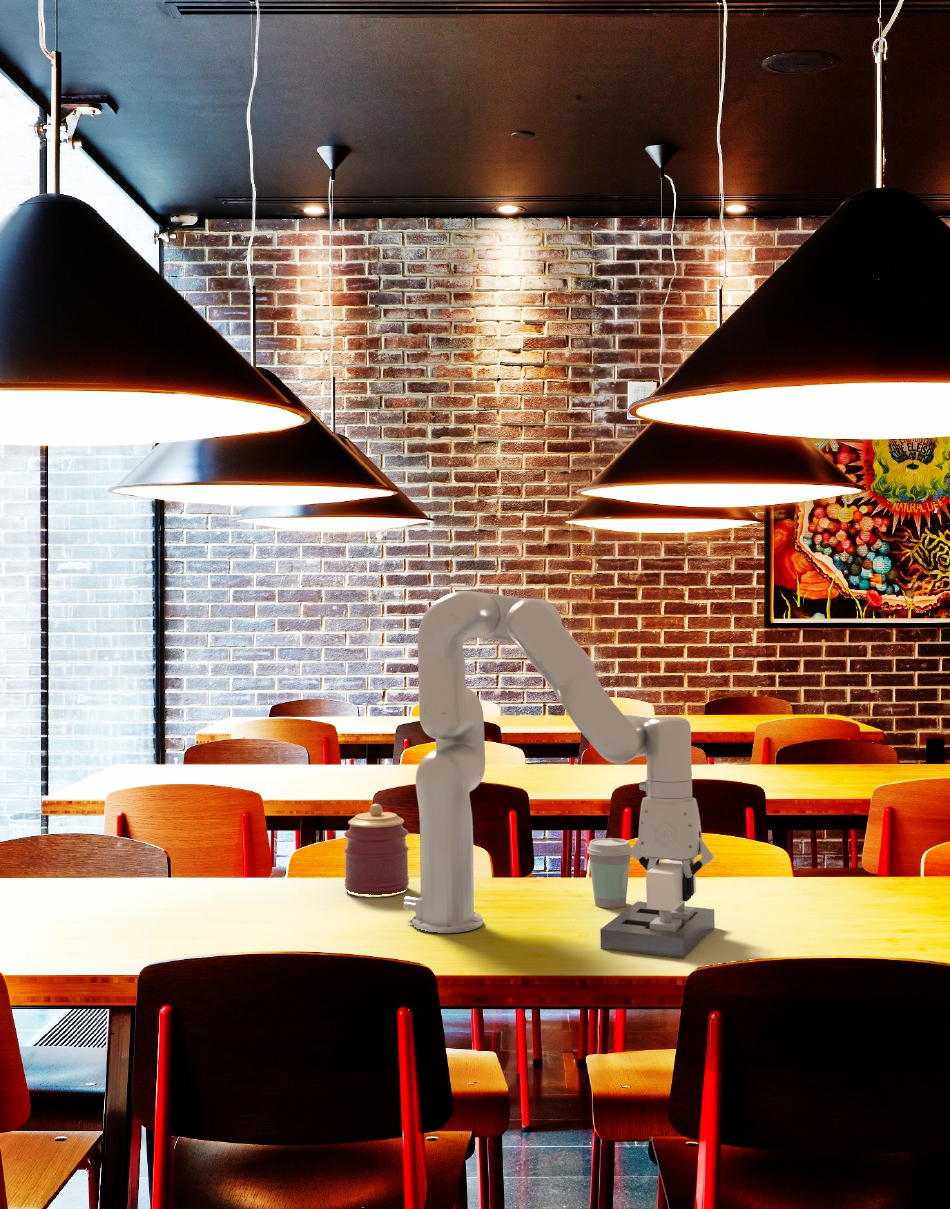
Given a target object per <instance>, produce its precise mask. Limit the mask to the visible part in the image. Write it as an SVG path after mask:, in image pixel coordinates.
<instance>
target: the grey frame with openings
mask: <svg viewBox="0 0 950 1209" xmlns="http://www.w3.org/2000/svg"><path fill="white" fill-rule="evenodd" d="M685 908H694V915H693V916H692V917H690V918H689V919H688V920H683V919H681V921H682V926H681V927H680V928H678V929H677V930H676V931H675V932H671V931H662V930H653V929H650V923H651V922H652V921H653V920H654V919H655V918H657V917H659V910H656V909H647V901H646V902H645V901H637V902H635V903H634V904H632V905H631V906H629V907H628V908H626V909H625V910H624V911H622V912H621V913H620V914H619V915H617V916H616V917H615V918H613V919H612V920H611V921H609V922H608V923H607V924H605V925H604V926H603V927H601V928H600V932H599V933H600V936H599V937H600V949H602V950H609V951H617V952H624V953H632V952H633V954H642V955H648V956H649V955H651V956H658V957H666V958H675V959H682V960H683V959H684V960H685V958H686V957H687V956H688V955H689V954H690V953H691V952H692V951H693V950H694V949H695V948H696V947H697V946H698V945H699V944H700V943H701V942H703V940H704V939H705V938H706V937H707V936H708V935H709V934H710V933H711V932H712V931H713V930H714V929H715V927H716V924H715V908H705V907H696V906H685ZM672 919H673V918H672Z"/></svg>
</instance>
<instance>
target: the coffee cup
mask: <svg viewBox="0 0 950 1209" xmlns="http://www.w3.org/2000/svg"><path fill="white" fill-rule="evenodd" d="M631 849H632V847H631V844H630V841H629V840H626V839H624V838H613V837H607V838H606V837H605V838H604V837H603V838H595V839H591V840H590V841H589V844H588V846H587V851H586V852H587V854H588V857H589V866H590V874H591V882H592V891H593V899H594V905H595V906H596V907H598V908H601V909H621V908H624V907H626V903H627V896H628V886H629V885H628V884H629V875H630V874H629V872H630V864H631V863H630V862H631V855H630V850H631Z"/></svg>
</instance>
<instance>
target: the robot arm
mask: <svg viewBox="0 0 950 1209" xmlns="http://www.w3.org/2000/svg"><path fill="white" fill-rule="evenodd" d="M468 639H488V640H494V641H495V640H496V641H501V642H509V643H514V644H515V645H516V647H517V648H518V649H520V651H521V652H522V653H523V655H524V656H525V657H526V658H527V660H528V661H529V662H530V664H532V665H533V667H534V668H535V669H536V671H537V672H538V673H539V674H540V676H541V677H542V678H543V679H544V680H545V682H546V683H547V684H548V686H549V687H550V688H551V689H552V690H553V692H554V694H555V696H556V698H557V699H558V701H559V703H560V704H561V705H562V707H563V708H564V710H565V712H566V713H567V715H568V716H569V718H570V719H571V721H572V722H573V724H574V725H575V726H576V728H577V729H578V730H579V732H580V734H581V733H582V735H583V737H585V739H586V740H587V742H589V744H590V745H591V746H592V748H594V750H595V751H596V752H597V753H598V754H599V755H600V756H601V758H603V759H605V760H606V761H608V762H609V763H612V764H618V765H620V764H626V763H629V762H630V761H632V760H634V759H635V758H638V757H646V779H645V781H640V782H639V784H638V788H639V790H640V791H644V792H645V795H646V796H645V797H642V800H641V803H640V812H639V821H638V822H639V825H638V839H637V841H635V844H633V846H632V847H631V850H630V857H631V856H632V858H634V859H635V860H636V861H638V862H639V864H640V865H641V866H642V867H643V868H644V869H645V870H646V872H647V871H648V870H650V869H651V868H653V867H654V866H656V865H657V864H659V863H660V862H661V860H664V859H669V860H681V861H682V865H683V869H684V877H683V878H682V895H683V901H685V902H686V903H687V902H688V901H689V900H690V899H691V898H692V896H694V894H695V893H694V874H695V875H696V873H697V872H698V871H699V870H701V868H703V867H704V866H705V865H708V863H710V862H711V861H713V859H714V858H715V857H714V854H713V853H712V852H711V850H710V849H709V848H708V847H707V845H706V842H704V840H703V835H702V833H703V832H702V826H701V819H700V812H699V807H698V801H697V798H695V797H693V778H692V776H693V775H692V774H693V771H692V731H691V723H690V722H689V721H688V719H687V718H684V717H680V716H657V717H645V716H637V715H631V714H624V713H622V711H621V710H620V709H619V707H618V706H617V705H616V704H615V703H614V702H613V700H612V699H611V698H610V697H609V695H608V694H607V692H606V691H605V689H604V687H603V686H602V684H601V682H600V681H599V678H598V675H597V671H596V668H595V666H594V662H593V661H592V659H591V658H590V656H589V655H588V654H587V653H586V651H585V650H584V649H583V648H582V647H581V645H580V644H579V643H578V641H577V640H575V638H574V637H573V636H572V634H570V632H569V630H567V629H566V628H565V626H564V625H563V624H562V618H561V614H560V612H559V610H558V609H557V607H556V606H555V605H554V604H553V603H551V602H550V601H548V600H544V599H541V598H524V597H517V596H516V597H515V596H510V595H502V594H494V593H488V592H482V591H481V592H479V591H474V590H473V591H472V590H461V591H459V590H458V591H454V592H451V593H448V594H446V595H444V596H443V597H440V598H439V599H438V600H436V601H435V602H434V603H432V605H431V606H430V607H428V609H427V610H426V612H424V615H423V616H422V618H421V620H420V624H419V626H418V631H417V663H418V664H417V665H418V675H417V676H418V678H417V679H418V709H419V710H418V712H419V715H418V717H419V723H420V727H421V728H422V730H423V732H424V734H426V735H427V736H429V737H430V738H431V739H433V740H434V739H435V749H433V750H432V751H430V752H429V753H427V754H426V755H425V756H423V758H422V759H421V761H420V762H419V764H418V766H417V770H416V774H415V790H416V791H415V792H416V798H417V803H418V811H419V812H418V813H419V814H418V815H419V845H420V846H419V847H420V848H419V849H420V850H419V852H420V854H419V855H420V856H419V857H420V862H419V863H420V865H419V866H420V867H419V868H420V897H414V896H405V897H404V899H403V905H402V908H403V909H404V911H405V910H406V911H414V912H415V915H414V916H413V917H412V920H411V922H412V926H413V925H414V926H413V927H414V928H415V927H416V928H415V929H417V930H419V929H421V930H420V931H422V930H425V931H424V932H426V931H428V932H427V933H433V932H437V933H436V934H455V933H456V934H458V933H465V932H468V931H469V932H470V931H473V930H477V929H479V928H480V927H481V926H483V923H484V922H483V916H482V914H480V913H478V912H475V897H474V896H475V892H474V890H475V889H474V888H475V887H474V886H475V885H474V884H475V883H474V881H475V879H474V877H475V876H474V873H475V872H474V830H473V829H474V825H473V812H472V806H471V805H472V804H471V798H470V797H471V796H470V793H471V792H472V791H473V790H475V789H476V788H477V787H478V786H479V785H480V783H482V781H483V778H484V775H485V769H486V750H485V748H486V747H485V746H486V745H485V724H484V723H485V722H484V720H485V719H484V710H483V706H482V703H481V701H480V698H479V696H478V695H477V694H476V693H475V692H474V691H473V690H472V689H471V688H469V687H467V685H466V682H467V681H466V661H465V654H464V651H463V650H464V649H463V645H464V643H465V641H467V640H468ZM699 855H701V858H700V859H698V860H696V861H695V863H694V861H693V859H694V858H695V859H696V857H697V856H699Z"/></svg>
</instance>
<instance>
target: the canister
mask: <svg viewBox="0 0 950 1209" xmlns="http://www.w3.org/2000/svg"><path fill="white" fill-rule="evenodd" d="M404 822H405V820H404V819H403V818H401V817H400V816H398V814H397V813H395V812H389V811H388V812H387V811H383V807H382V805H381V804H379V803H373V804H371V806H370V807H369V811H368V812H362V813H358V814H356V815H355V816H354V817H353V818H351V819H350V820H348V822H347V823H348V825H350V826H349V828H348V830H345V832H344V837H345V839H346V847H345V848H344V854H345V856H344V858H345V859H344V862H345V878H344V887H345V890H346V889H347V890H349V891H350V892H354V893H358V894H369V895H370V894H371V895H382V894H392V893H397V892H401V891H404V890H406V889H407V888H408V886H409V884H410V882H409V880H410V878H409V868H408V867H409V865H408V864H409V863H408V862H409V859H408V857H409V855H408V851H409V847H408V846H407V842H406V841H407V838H406V837H407V836H408V835H409V831H408V830H407V829H406V828H404V826H403V824H404ZM407 890H408V889H407Z"/></svg>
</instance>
